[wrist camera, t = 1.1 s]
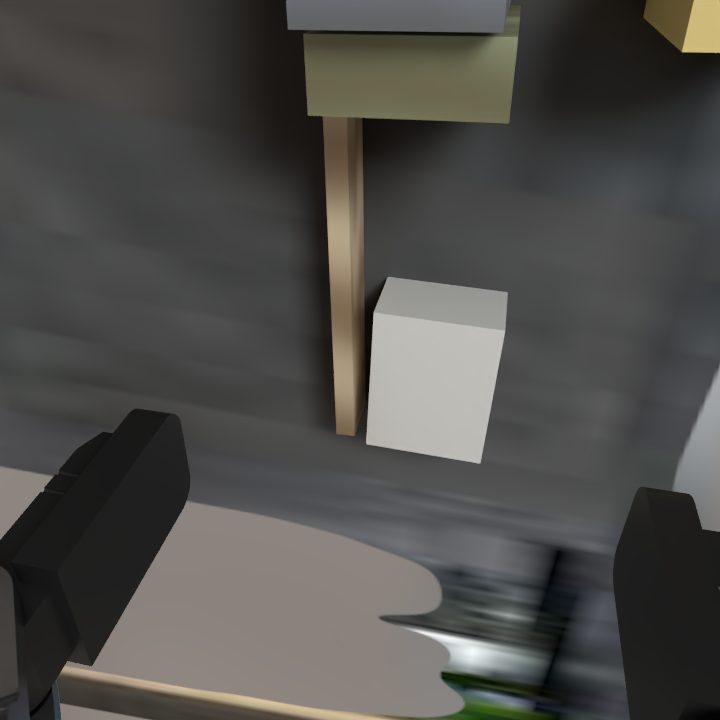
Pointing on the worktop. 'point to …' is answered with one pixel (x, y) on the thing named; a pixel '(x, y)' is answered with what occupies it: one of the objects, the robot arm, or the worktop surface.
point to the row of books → (390, 101)
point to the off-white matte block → (434, 367)
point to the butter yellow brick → (687, 23)
